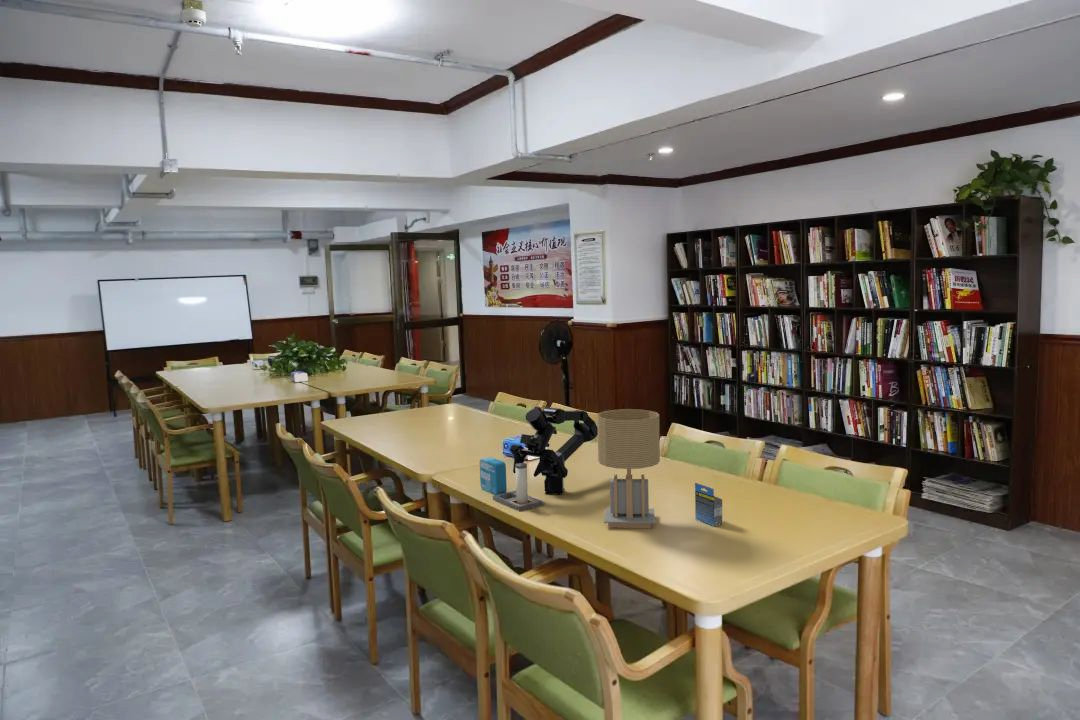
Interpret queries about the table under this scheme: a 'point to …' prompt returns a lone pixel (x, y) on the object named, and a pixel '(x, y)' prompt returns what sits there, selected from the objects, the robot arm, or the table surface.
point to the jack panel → (513, 502)
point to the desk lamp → (628, 463)
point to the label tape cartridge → (707, 505)
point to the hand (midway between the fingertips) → (524, 474)
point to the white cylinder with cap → (521, 483)
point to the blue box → (493, 475)
